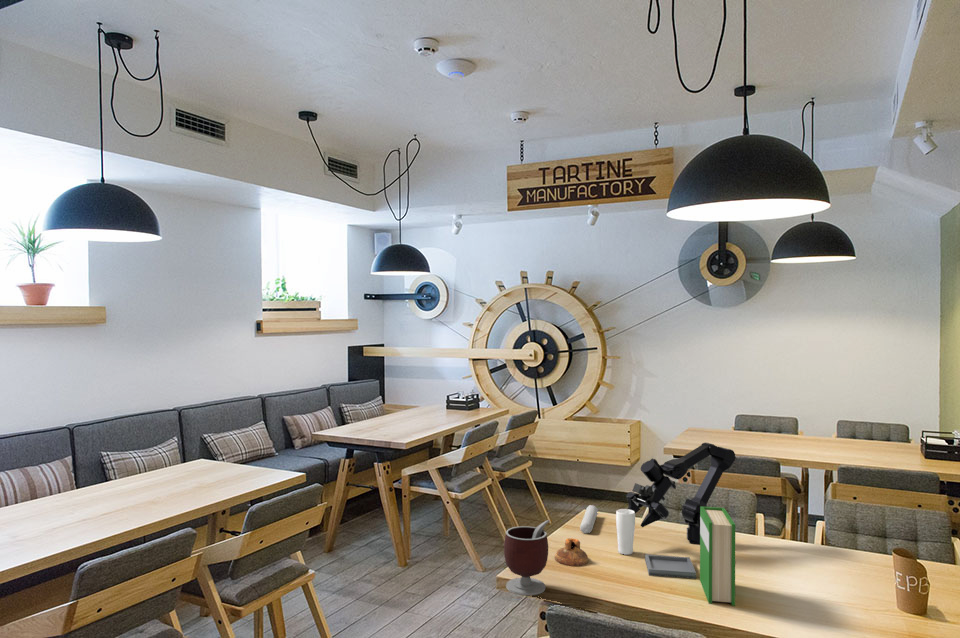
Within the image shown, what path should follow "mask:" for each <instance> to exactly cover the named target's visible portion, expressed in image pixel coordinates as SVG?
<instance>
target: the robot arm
mask: <svg viewBox="0 0 960 638" xmlns="http://www.w3.org/2000/svg"><path fill="white" fill-rule="evenodd" d="M708 457H710V467H709V469H708V471H707V473H706V475H705V476H704V479H703V481H702V482H701V484H700V486H699V488H698V489H697V492H696V494H695V495H694V497H692V498H686V499H685V502H684V504H683V505H682V507H681V508H682V510H681V514H682V515H681V516H682V518H683V520H684V523H685V524H687V527H686V539H687V541H688V542H689V544H693V543H694V545H696V544H697V545H700V506H702V507H708V505H707V504H708V502H709V500H710V498H711V497H712V494H713V493H714V490H715V489H716V487H717V485H718V483H719V481H720V479H721V477H722V475H723V473H724V472H725V471H727V470H729V469H730V468H731V467H732V465H733V464H734V463H735V461H736V459H737V456H736V453H735V451H734V450H733V449H730V448H727V447H723V446H717V445H716V444H713V443H709V442H702V443H701V444H700V445H699V446H698V447H695V448H694V449H693V450H691V451H690V452H688V453H686V454H685V455H683V456H681V457H679V458H673V459H670V460H667V461H665V462H664V463H663V464H660V463H659V462H658V460H657V459H655V458H651V459H650V460H647V461H645V462H643V463H642V465H641V467H640V471H641V473H643V475H644V476H645V477H646V478H647V480H648V481H650V482H652V484H651V485H649V484H647V485H645V486H644V485H641V484H639V483H636V482H635V483H634V484H633V485H634V486H633V487H632V491H628V492H627V494H626V495H625V497H626V500H627V502H628V507H627V509H629V510H633V511H634V512H635V515H636V514H637V513H638V512H640V510H641V508H643V507H646V508H648V511H647V512H648V513H646V515H645V517H644V518H643V520H642V522H641V524H640V527H642V528H644V527H646V526H648V525H650V524H652V523H655V522H657V521H660V520H663V519H667V518H668V516H669V515H670V514H669V513H670V511H669V510H668V509H667V508H666V507H665V505H664V504H663V503H661V501H664V500H665V499H666V497H665V495H666V494H667V492H668V491H669V489H674V490H676V489H677V486H676V481H674V480H671V478H672V479H675V480H681V479H682V478H684V476H685V475H687V473H688V471H689V469H690V468H692V467H693V466H695V465H697V464H698V463H700V462H701V461H703V460H705V459H706V458H708ZM638 494H639V495H638Z"/></svg>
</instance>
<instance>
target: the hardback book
mask: <svg viewBox="0 0 960 638" xmlns="http://www.w3.org/2000/svg"><path fill="white" fill-rule="evenodd" d="M699 582H700V585H701V587H702V590H703V592H704V595H705V597H706V600H707V603H708V604H709V605H712V604H713V602H720V603H730V605H731V606H732V607H735V606H736V523H735V521H734V520H733V519H732V517H731V515H730V514H729V513H728V511H727V510H726V509H725V507H717V506H716V507H714V506H707V507H702V506H700V544H699Z"/></svg>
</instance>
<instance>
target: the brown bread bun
mask: <svg viewBox="0 0 960 638" xmlns="http://www.w3.org/2000/svg"><path fill="white" fill-rule="evenodd" d="M554 560H555V561H556V562H557V563H558V564H561V565H563V566H568V565H569V567H570V566H571V567H580V566H584V565H585V564H587V563H588V561H589V557H588V554H587V553H586V551H584V550H583V549H581V542H580V540H579V539H577V538H573V537H572V538H566V539H565V542H564V547H561V548H560V549H558V550H557V551H556V552H555V554H554Z"/></svg>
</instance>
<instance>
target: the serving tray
mask: <svg viewBox="0 0 960 638" xmlns="http://www.w3.org/2000/svg"><path fill="white" fill-rule="evenodd" d="M644 561H645V565H646V569H647V574H648V576H654V577H668V578H679V579H680V578H681V579H692V580H696V579H697V571H696V569H695V567H694V564H693V562H692V560H691V558H690V557H689V556H676V555H675V556H673V555H659V554H648V553H645V555H644Z"/></svg>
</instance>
